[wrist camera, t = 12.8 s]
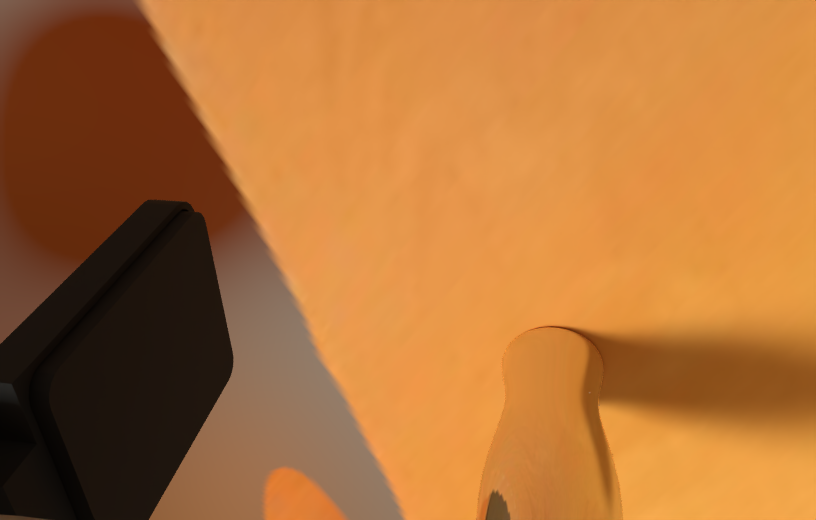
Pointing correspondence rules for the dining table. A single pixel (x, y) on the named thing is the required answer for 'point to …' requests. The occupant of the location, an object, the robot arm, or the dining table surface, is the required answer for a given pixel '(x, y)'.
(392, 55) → the dining table surface
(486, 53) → the dining table surface
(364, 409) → the dining table surface
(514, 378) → the beer glass
